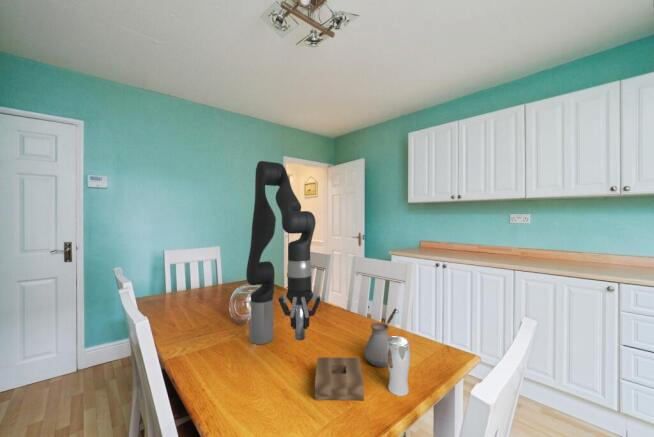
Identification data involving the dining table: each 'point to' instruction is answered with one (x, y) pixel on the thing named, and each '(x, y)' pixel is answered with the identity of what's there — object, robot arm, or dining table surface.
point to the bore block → (339, 379)
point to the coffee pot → (378, 343)
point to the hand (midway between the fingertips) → (300, 328)
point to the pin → (299, 323)
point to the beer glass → (398, 364)
